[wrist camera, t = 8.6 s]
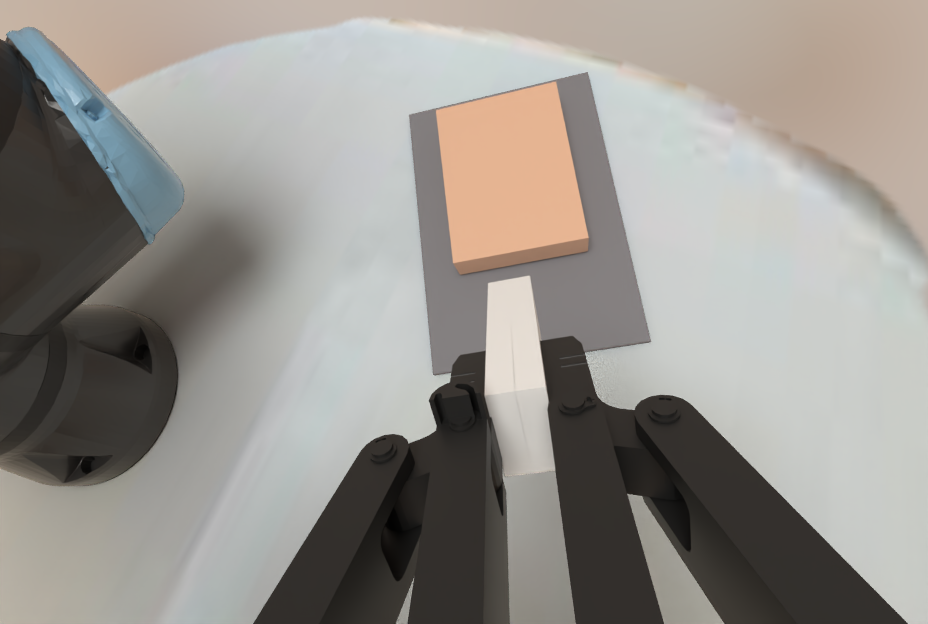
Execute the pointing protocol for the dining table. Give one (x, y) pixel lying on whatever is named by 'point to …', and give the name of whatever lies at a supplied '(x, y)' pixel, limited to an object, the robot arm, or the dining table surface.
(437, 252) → the mat
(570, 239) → the tile
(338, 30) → the dining table surface
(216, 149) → the dining table surface
